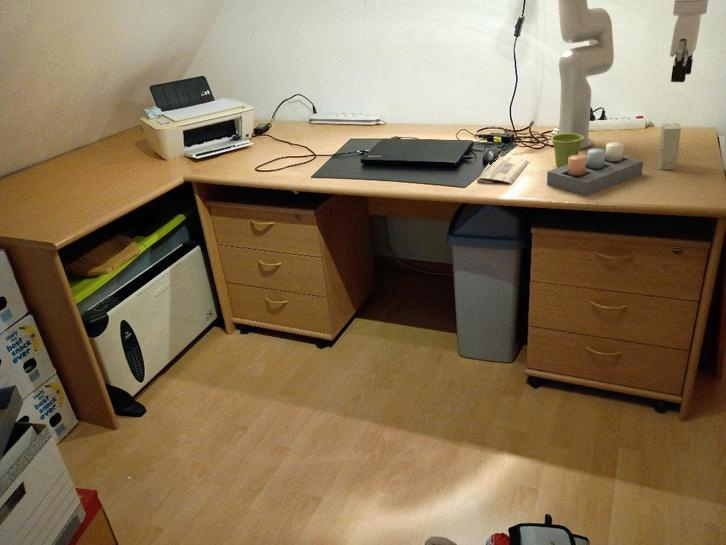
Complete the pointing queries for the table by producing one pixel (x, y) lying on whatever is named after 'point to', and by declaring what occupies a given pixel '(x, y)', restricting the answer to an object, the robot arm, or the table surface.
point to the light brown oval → (576, 165)
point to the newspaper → (503, 170)
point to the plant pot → (566, 147)
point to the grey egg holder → (595, 176)
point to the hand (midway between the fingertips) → (680, 77)
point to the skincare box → (669, 146)
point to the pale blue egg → (596, 158)
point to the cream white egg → (614, 151)
